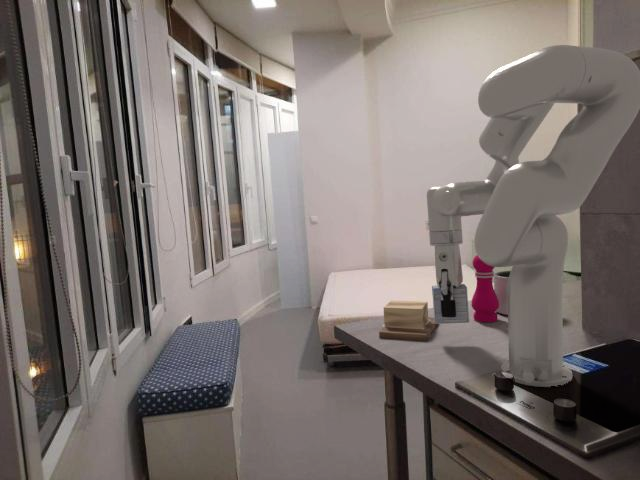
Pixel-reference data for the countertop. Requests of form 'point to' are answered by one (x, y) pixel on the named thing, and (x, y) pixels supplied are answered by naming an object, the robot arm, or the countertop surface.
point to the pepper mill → (484, 293)
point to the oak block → (406, 314)
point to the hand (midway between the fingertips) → (450, 313)
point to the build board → (409, 331)
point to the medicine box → (460, 304)
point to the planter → (502, 291)
